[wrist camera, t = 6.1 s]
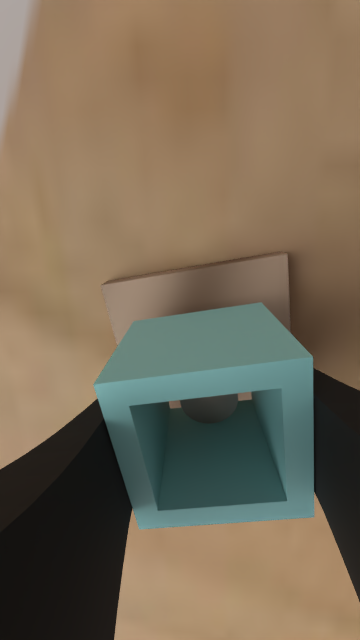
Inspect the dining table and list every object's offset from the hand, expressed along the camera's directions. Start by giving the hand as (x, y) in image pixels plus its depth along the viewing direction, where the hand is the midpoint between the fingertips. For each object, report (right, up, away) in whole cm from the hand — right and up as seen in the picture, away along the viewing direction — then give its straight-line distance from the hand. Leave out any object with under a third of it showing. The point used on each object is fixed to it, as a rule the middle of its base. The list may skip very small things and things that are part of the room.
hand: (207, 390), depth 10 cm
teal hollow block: (0, +1, +1) cm, 1 cm away
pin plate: (0, +1, +4) cm, 4 cm away
